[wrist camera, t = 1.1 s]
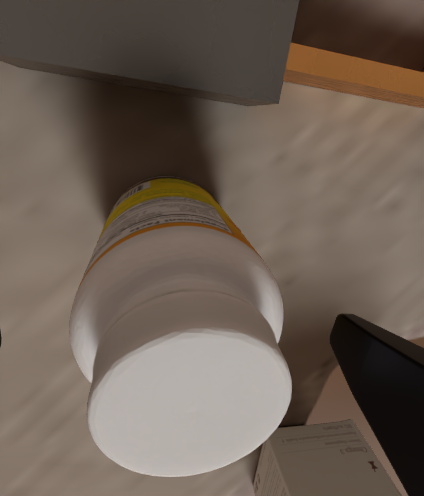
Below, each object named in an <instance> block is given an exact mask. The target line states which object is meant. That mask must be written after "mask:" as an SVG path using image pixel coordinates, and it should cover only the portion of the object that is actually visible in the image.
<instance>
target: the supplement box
mask: <svg viewBox="0 0 424 496" xmlns="http://www.w3.org/2000/svg"><path fill="white" fill-rule="evenodd" d="M253 489H254V493H255V496H402V495H401V494H400V492H399V490H398V489H397V488H396V486H395V484H394V483H393V481H392V480H391V478H390V476H389V475H388V473H387V472H386V470H385V469H384V467H383V466H382V464H381V463H380V461H379V460H378V458H377V456H376V455H375V454H374V452H373V450H372V448H371V447H370V446H369V444H368V443H367V441H366V440H365V438H364V437H363V435H362V434H361V432H360V430H359V429H358V427H357V425H356V424H355V423H354V421H353V420H351V419H349V420H345V421H340V422H332V423H324V424H314V425H304V426H294V427H282V428H276V430H275V431H274V432H273V433H272V434H271V435H270V436H269V437H268V439H267V440H266V441H264V442H263V445H262V449H261V454H260V458H259V462H258V466H257V470H256V475H255V479H254V484H253Z"/></svg>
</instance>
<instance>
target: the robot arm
mask: <svg viewBox="0 0 424 496" xmlns="http://www.w3.org/2000/svg"><path fill="white" fill-rule="evenodd" d="M330 344H331V347H332V349H333V351H334V354H335V356H336V358H337V361H338V363H339V365H340V367H341V370H342V372H343V374H344V376H345V379H346V381H347V383H348V385H349V388H350V390H351V392H352V394H353V396H354V398H355V400H356V401H357V403H358V405H359V407H360V409H361V411H362V412H363V414H364V416H365V418H366V420H367V421H368V423H369V425H370V427H371V429H372V430H373V432H374V434H375V436H376V438H377V440H378V441H379V443H380V445H381V447H382V449H383V450H384V452H385V454H386V456H387V458H388V459H389V461H390V463H391V465H392V467H393V469H394V470H395V472H396V474H397V476H398V478H399V479H400V481H401V483H402V484H403V487H404V489H405V490H406V492H407V494H408V496H424V348H422V347H420V346H418V345H416V344H414V343H412V342H410V341H408V340H406V339H404V338H402V337H400V336H397V335H395V334H393V333H391V332H389V331H387V330H385V329H383V328H381V327H379V326H377V325H375V324H373V323H370V322H368V321H366V320H364V319H362V318H360V317H358V316H356V315H354V314H339V315H338V316H337V317H336V320H335V323H334V326H333V328H332V331H331V334H330ZM0 346H1V331H0Z"/></svg>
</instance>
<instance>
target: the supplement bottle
mask: <svg viewBox="0 0 424 496" xmlns="http://www.w3.org/2000/svg"><path fill="white" fill-rule="evenodd" d="M282 326H283V302H282V297H281V293H280V290H279V287H278V284H277V282H276V280H275V278H274V276H273V275H272V273H271V271H270V270H269V268H268V267H267V265H266V264H265V262H264V261H263V259H262V258H261V257H260V256H259V254H258V253H257V252H256V251H255V249H254V248H253V247H252V246H251V244H250V243H249V242H248V241H247V239H246V238H245V236H244V235H243V234H242V233H241V231H240V229H239V228H237V227H236V225H235V224H234V223H233V222H232V220H231V219H230V218H229V216H228V215H227V214H226V213H225V212H224V210H223V209H222V208H221V206H220V205H219V204H218V202H217V201H216V200H215V199H214V198H213V197H212V195H211V194H210V193H209V192H207V191H206V190H205V189H204V188H202V187H201V186H199V185H198V184H196V183H194V182H192V181H189V180H187V179H184V178H180V177H174V176H159V177H153V178H149V179H146V180H143V181H141V182H139V183H137V184H135V185H133V186H132V187H130V188H129V189H128V190H126V191H125V192H124V193H123V194H122V195H121V196H120V198H119V199H118V200H117V202H116V203H115V205H114V206H113V208H112V210H111V212H110V214H109V216H108V219H107V221H106V223H105V225H104V228H103V230H102V233H101V235H100V237H99V240H98V242H97V245H96V247H95V249H94V252H93V254H92V257H91V259H90V262H89V264H88V267H87V269H86V271H85V273H84V276H83V279H82V281H81V283H80V285H79V288H78V291H77V293H76V296H75V299H74V303H73V307H72V311H71V316H70V323H69V327H70V330H69V334H70V342H71V347H72V350H73V354H74V356H75V359H76V361H77V363H78V366H79V367H80V369H81V371H82V372H83V374H84V375H85V377H86V378H87V379H88V380H89V381H90V382H91V383H92V384H91V389H90V393H89V398H88V403H87V420H88V427H89V430H90V432H91V435H92V437H93V440H94V442H95V443H96V444H97V446H98V447H99V448H100V450H101V451H102V452H103V453H104V454H105V455H106V456H107V457H109V458H110V459H112V460H113V461H115V462H116V463H117V464H119V465H121V466H122V467H125V468H127V469H130V470H132V471H135V472H138V473H142V474H148V475H153V476H163V477H178V476H190V475H196V474H200V473H205V472H209V471H212V470H215V469H218V468H221V467H224V466H226V465H228V464H230V463H232V462H235V461H237V460H238V459H240V458H242V457H244V456H246V455H247V454H249V453H251V452H252V451H253V450H255V449H256V448H257V447H258V446H260V445H261V444H262V443H263V442H264V441H266V440H267V439H268V437H269V436H270V435H271V434H272V433H273V432H274V431H275V430H276V428H277V427H278V426H279V424H280V423H281V421H282V419H283V417H284V415H285V414H286V412H287V409H288V406H289V404H290V401H291V393H292V380H291V375H290V371H289V368H288V364H287V362H286V360H285V358H284V356H283V354H282V352H281V350H280V348H279V346H278V342H279V339H280V336H281V332H282Z"/></svg>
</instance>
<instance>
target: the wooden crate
mask: <svg viewBox="0 0 424 496" xmlns="http://www.w3.org/2000/svg"><path fill="white" fill-rule="evenodd" d="M298 5H299V0H0V61H3V62H6V63H8V64H11V65H14V66H17V67H20V68H26V69H32V70H37V71H43V72H49V73H55V74H61V75H67V76H73V77H79V78H85V79H91V80H97V81H102V82H108V83H114V84H120V85H126V86H132V87H138V88H144V89H150V90H156V91H162V92H168V93H173V94H179V95H185V96H191V97H197V98H203V99H209V100H215V101H221V102H227V103H233V104H239V105H244V106H257V105H269V104H279V99H280V94H281V89H282V84H283V81H286V82H291V83H296V84H301V85H307V86H312V87H317V88H322V89H327V90H333V91H338V92H343V93H348V94H353V95H358V96H364V97H369V98H374V99H379V100H384V101H389V102H395V103H400V104H405V105H410V106H415V107H420V108H424V69H423V71H422V72H419V71H415V70H411V69H406V68H402V67H397V66H393V65H388V64H384V63H379V62H375V61H371V60H366V59H362V58H357V57H353V56H348V55H344V54H339V53H335V52H331V51H326V50H322V49H317V48H313V47H308V46H304V45H299V44H295V43H291V39H292V34H293V30H294V25H295V20H296V15H297V10H298Z"/></svg>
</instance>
